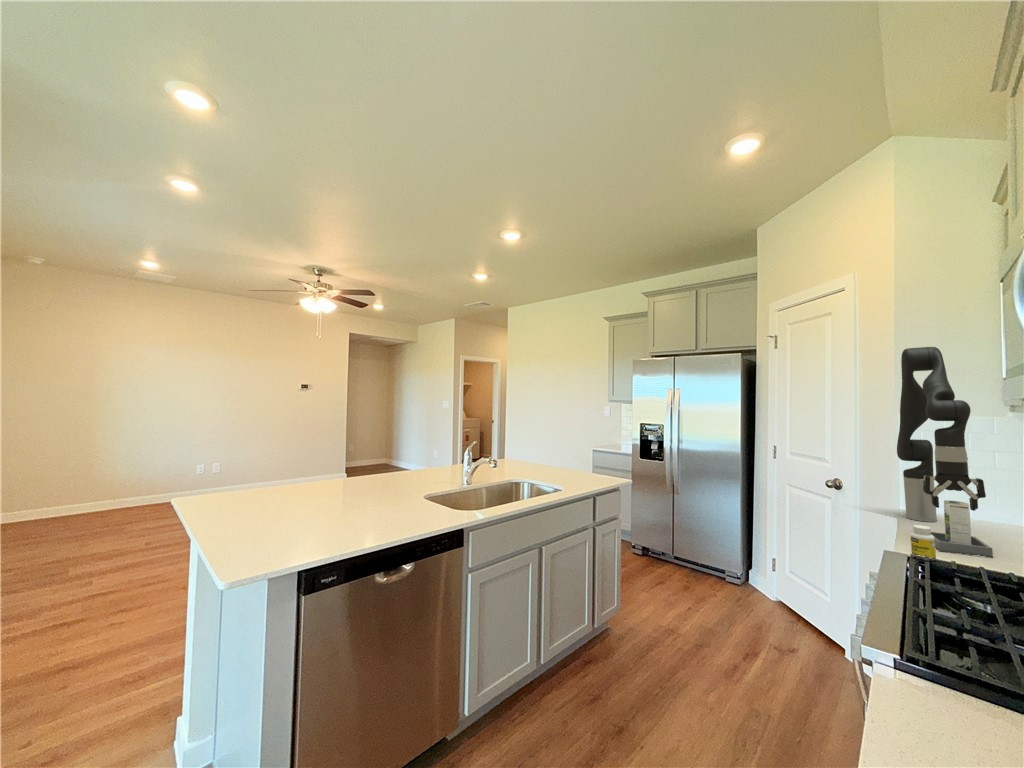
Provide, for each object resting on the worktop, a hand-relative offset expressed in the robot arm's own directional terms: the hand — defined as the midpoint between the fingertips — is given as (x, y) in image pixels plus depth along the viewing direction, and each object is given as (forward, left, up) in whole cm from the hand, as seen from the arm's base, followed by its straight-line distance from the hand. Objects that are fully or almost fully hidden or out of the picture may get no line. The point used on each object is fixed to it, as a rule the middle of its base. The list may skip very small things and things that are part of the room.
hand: (954, 508), depth 140 cm
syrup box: (0, 0, -13) cm, 13 cm away
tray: (0, 0, -13) cm, 13 cm away
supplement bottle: (+19, -12, -13) cm, 26 cm away
